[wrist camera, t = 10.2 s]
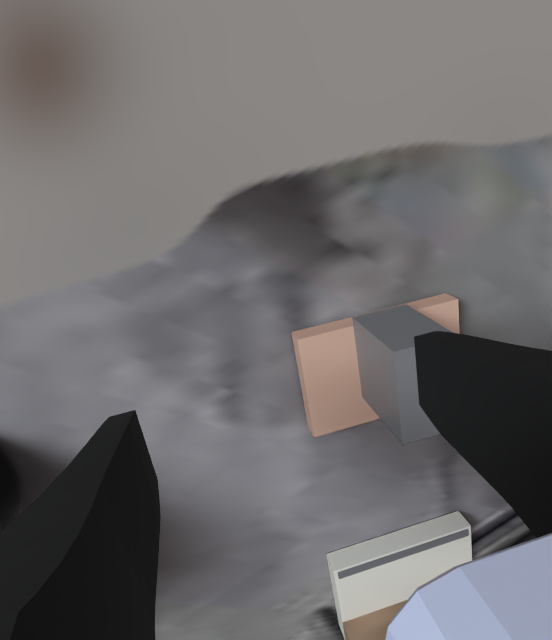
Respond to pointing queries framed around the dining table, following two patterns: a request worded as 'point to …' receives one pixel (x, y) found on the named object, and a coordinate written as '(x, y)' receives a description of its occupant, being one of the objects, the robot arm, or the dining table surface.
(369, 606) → the board
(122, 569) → the robot arm
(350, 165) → the dining table surface
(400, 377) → the grey and peach block
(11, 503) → the supplement bottle
